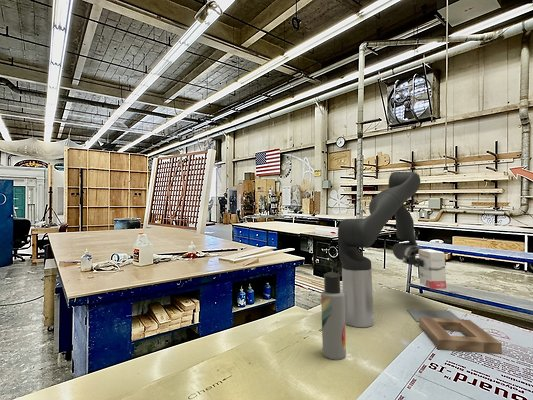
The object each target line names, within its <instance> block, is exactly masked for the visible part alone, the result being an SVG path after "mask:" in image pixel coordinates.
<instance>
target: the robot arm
mask: <svg viewBox="0 0 533 400" xmlns="http://www.w3.org/2000/svg"><path fill="white" fill-rule="evenodd" d="M388 177H389V178H388V188H386V189H384V190H381V191H380V192H378V193H377V194H376V195H375V196H374V197H373V198H372V199H371V201H370V202H369V204H368V210H369V211H368V212H369V215H368V216H367V217H365V218H343V219H342V220H341V221H340V222H339V224H338V227H337V242H338V256H339V260H340V263H341V278H342V279H341V281H342V285H341V286H342V289H341V292H343V293H344V305H345V326H346V325H348V326H351V327H356V328H369V327H372V326H374V324H375V322H374V320H375V319H374V296H373V294H374V293H373V274H372V271H373V269H372V261H371V260H370V258H369V257H366V256H365V255H363V254H362V253H360V252H359V250H358V248H365V249H366V248H370V247H371V246H373V244H374V243H375V241H376V240H377V239H378V237H379V235H380V234H381V232H382V231H383V229H384V227H385V226H386V225H387V224H388V222H389V221H390V219H392V217H393V216H394V218H395V230H396V231H395V232H396V233H395V234H396V238H398V239H399V240H401V241H407V242H397V243H395V244H394V245H393V248H392V253H393V255H394V257H396V259H398V260H400V261H401V260H402V262H403V263H404V264H407V265H409V266H414V267H415V268H418V269H419V266H421V267H423V266H424V265H423V260H421V259H419V253H418V250H419V249H425V248H423V247H421V246H419V245H418V243H417V241H416V236H415V223H414V218H413V216H412V215H411V213H410V211H409V210H408V209H407V208H406V206H405V202H406V201H408V200H409V199H410V198H411V197H412V196H414V195H416V193H417V192H418V190H419V188H420V186H421V178H420V175H419V174H418V173H417V172H413V171H394V172H392V173H390V175H389V176H388ZM446 260H447V258H446V257H445V266H447V261H446Z"/></svg>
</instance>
